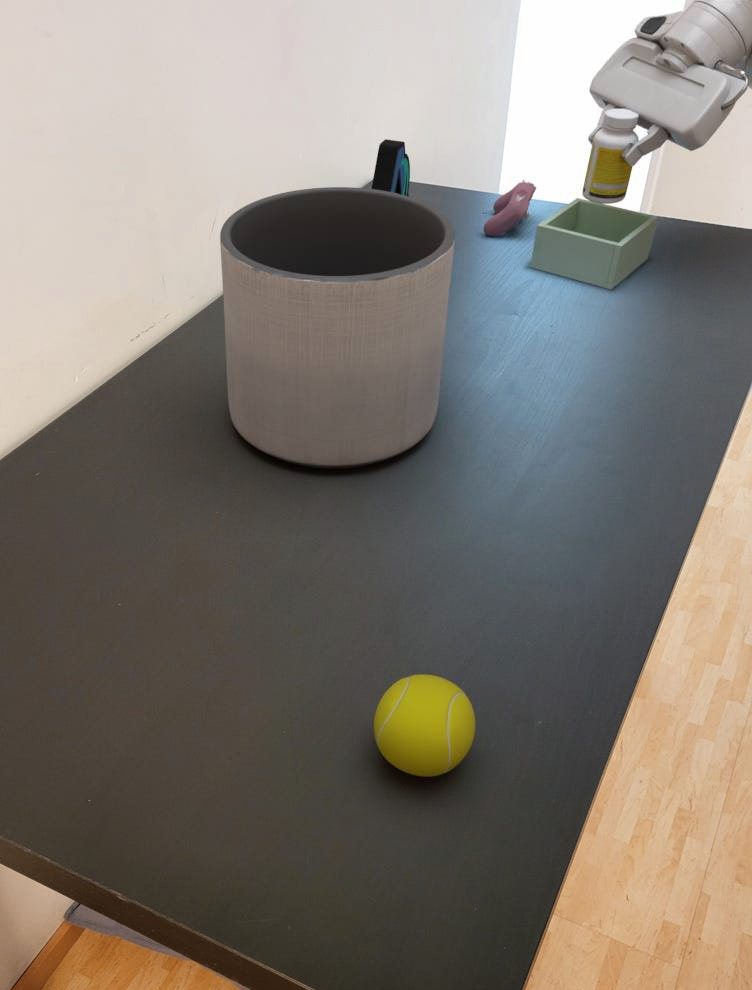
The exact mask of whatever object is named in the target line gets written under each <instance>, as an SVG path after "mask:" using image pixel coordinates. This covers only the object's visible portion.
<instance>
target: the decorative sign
mask: <svg viewBox="0 0 752 990" xmlns="http://www.w3.org/2000/svg"><path fill="white" fill-rule="evenodd" d="M409 158H410V157H409V155H408V153H406V143H405V141H400V140H394V139H387V138H385V139H383V141H382V142H380V143H379V146H378V150H377V157H376V161H375V167H374V172H373V177H372V178H373V179H372V184H371V188H370V189H375V190H382V191H387V192H392V193H397V194H401V195H405V196H408V197H410V193H409V189H410V180H411V166H410V165H411V163H410V159H409Z"/></svg>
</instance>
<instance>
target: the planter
mask: <svg viewBox="0 0 752 990" xmlns="http://www.w3.org/2000/svg"><path fill="white" fill-rule="evenodd" d="M454 227H455V226H454V225H453V223H452V221H451V220H450V219H449V218H448V217H447V215H446V214H444V213H443V212H442V211H440V210H439V209H438V208H436V207H434V206H432V205H430V204H429V203H426V202H425V201H423V200H419V199H417V198H415V197H411V196H409V197H408V196H405V195H401V194H397V193H392V192H387V191H382V190H375V189H371V188H365V187H352V186H351V187H350V186H331V187H329V186H327V187H314V188H313V187H312V188H303V189H297V190H290V191H286V192H281V193H277V194H273V195H270V196H267V197H263V198H260V199H257V200H255V201H253V202H250V203H249V204H246V205H245V206H243V207H241V208H239V209H238V210H236V211H235V212H234V213H232V214H231V215H230V216H229V217H228V218H227V219H226V220H225V221H224V223H223V224H222V226H221V229H220V234H219V245H220V262H221V279H222V294H223V295H222V296H223V297H222V298H223V317H224V318H223V319H224V335H225V336H224V340H225V363H226V385H227V386H226V387H227V401H228V402H227V403H228V409H229V414H230V419H231V422H232V425H233V427H234V429H235V430H236V431H237V433H238V434H239V435H240V436H241V437H242V439H244V441H246V442H247V443H248V444H250V445H251V446H252V447H254V448H256V450H258V451H260V452H262V453H264V454H266V455H268V456H270V457H273V458H275V459H278V460H281V461H283V462H285V463H289V464H292V465H297V466H302V467H307V468H308V467H309V468H315V469H352V468H359V467H364V466H369V465H373V464H377V463H381V462H384V461H387V460H389V459H392V458H394V457H397V456H399V455H401V454H404V453H405V452H406V451H408V450H410V449H412V448H414V446H416V445H417V444H418V443H420V442H421V441H422V440H423V439H424V438H425V437H426V436H427V435H428V433H429V432H430V431H431V429H432V428H433V425H434V423H435V420H436V417H437V412H438V407H439V399H440V390H441V380H442V372H443V371H442V370H443V361H444V359H443V358H444V349H445V339H446V327H447V319H448V307H449V296H450V287H451V279H452V270H453V269H452V268H453V260H454V251H455V243H456V241H455V240H456V232H455V228H454Z"/></svg>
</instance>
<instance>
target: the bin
mask: <svg viewBox="0 0 752 990" xmlns="http://www.w3.org/2000/svg"><path fill="white" fill-rule="evenodd" d="M658 221H659V216H657V215H652V214H649V213H643V212H639V211H636V210H630V209H626V208H623V207H619V206H613V205H609V204H601V203H596V202H592V201H589V200H587V199H585V198H584V199H583V198H579V197H576V198H575V199H573V200H572V201H571V202H569V203H568V204H566V205H565V206H563V207H562V208H560V209H559V210H558V211H555V212H554V213H553V214H551V215H550V216H548V217H547V218H546V219H544V220H542V221H541V222H540V223H538V224H537V225H536V231H535V237H534V242H533V247H532V249H533V250H532V253H531V259H530V266H529V267H530V268H531V269H535V270H538V271H542V272H544V273H545V272H546V273H550V274H552V275H557V276H561V277H564V278H567V279H571V280H574V281H579V282H582V283H585V284H586V283H587V284H589V285H593V286H596V287H600V288H604V289H607V290H613V289H614V288H615V287H616V286H618V284H620V283H621V282H622V281H623V280H624V279H626V278H628V276H630V275H631V274H632V273H633V272H634V271H635V270H636V269H638V268H639V267H640V266H641V265H643V264H644V263H645V262H646V261H647V260H648V259H649V255H650V251H651V247H652V243H653V239H654V237H655V232H656V229H657V224H658Z"/></svg>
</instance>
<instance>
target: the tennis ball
mask: <svg viewBox="0 0 752 990" xmlns="http://www.w3.org/2000/svg"><path fill="white" fill-rule="evenodd" d="M474 712H475V711H474V709H473V705H472V703H471V701H470V699H469V697H468V696H467V695H466V693H465V692H464V691H463V690H462V688H460V687H459V686H458V685H456V684H455V683H454V682H452V681H450V680H448V679H446V678H444V677H441V676H438V675H434V674H433V675H432V674H423V673H421V674H420V673H419V674H413V675H409V676H406V677H403V678H401V679H399V680H397V681H395V683H393V684H392V685H391V686H390V687H389V688H388V689H386V691H385V692H384V694H383V695H382V697H381V699H380V700H379V702H378V705H377V707H376V710H375V713H374V719H373V731H374V738H375V742H376V745H377V746H376V747H377V748H378V750H379V751H380V753H381V755H382V756H383V757H384V758H385V760H386V761H387V762H388V763H389V764H391V765H392V766H393V767H395V768H397V769H398V770H400V771H402V772H404V773H406V774H409V775H413V776H418V777H427V778H428V777H429V778H430V777H436V776H437V777H438V776H440V775H442V774H446V773H448V772H450V771H451V770H453V769H454V768H455V767H456V766H458V765H459V764H460V763H461V762H462V761H463V760H464V758H466V756H467V754H468V752H469V751H470V749H471V747H472V744H473V741H474V739H475V733H476V717H475V713H474Z"/></svg>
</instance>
